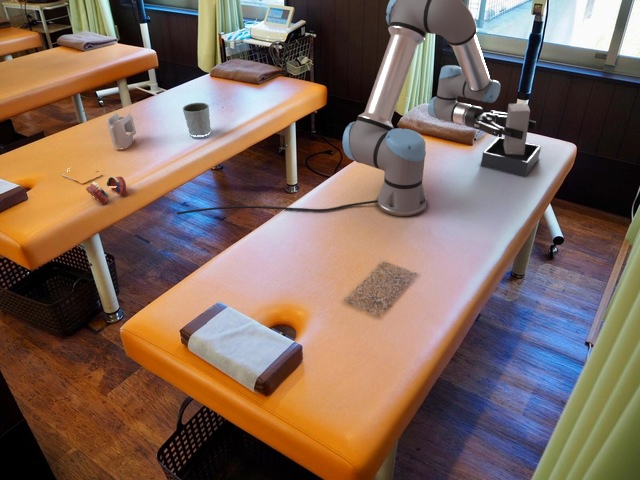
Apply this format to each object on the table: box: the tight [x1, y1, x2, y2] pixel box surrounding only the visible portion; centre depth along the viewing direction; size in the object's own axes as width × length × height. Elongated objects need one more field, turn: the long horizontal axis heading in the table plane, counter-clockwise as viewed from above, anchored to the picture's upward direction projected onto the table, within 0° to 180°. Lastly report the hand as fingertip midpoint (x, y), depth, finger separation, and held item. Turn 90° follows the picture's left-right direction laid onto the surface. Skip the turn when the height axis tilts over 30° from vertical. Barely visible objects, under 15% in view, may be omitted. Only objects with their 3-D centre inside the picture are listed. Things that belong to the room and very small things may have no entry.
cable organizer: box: [106, 112, 137, 151], centre depth 208 cm, size 7×12×12 cm, turn 169°
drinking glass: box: [182, 102, 212, 140], centre depth 214 cm, size 10×10×12 cm
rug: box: [344, 260, 417, 317], centre depth 134 cm, size 10×20×1 cm, turn 145°
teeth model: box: [85, 176, 127, 205], centre depth 176 cm, size 8×6×12 cm
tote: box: [480, 136, 542, 178], centre depth 189 cm, size 16×16×5 cm
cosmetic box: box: [503, 103, 531, 155], centre depth 183 cm, size 8×7×16 cm
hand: (528, 130), depth 181 cm, fingers closed on cosmetic box, 10 cm apart
